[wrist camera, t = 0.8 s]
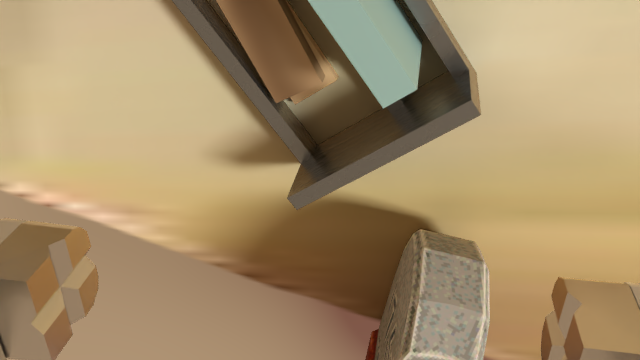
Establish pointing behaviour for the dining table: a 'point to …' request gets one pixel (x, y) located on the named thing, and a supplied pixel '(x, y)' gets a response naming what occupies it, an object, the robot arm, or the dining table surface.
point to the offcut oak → (323, 62)
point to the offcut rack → (368, 134)
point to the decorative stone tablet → (435, 303)
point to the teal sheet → (376, 43)
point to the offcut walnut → (274, 45)
